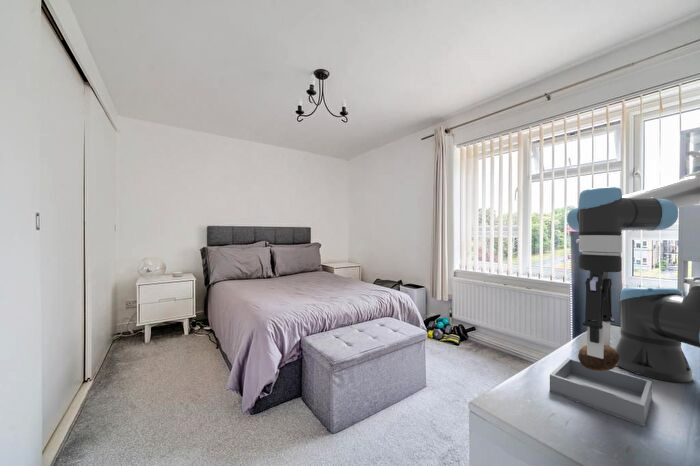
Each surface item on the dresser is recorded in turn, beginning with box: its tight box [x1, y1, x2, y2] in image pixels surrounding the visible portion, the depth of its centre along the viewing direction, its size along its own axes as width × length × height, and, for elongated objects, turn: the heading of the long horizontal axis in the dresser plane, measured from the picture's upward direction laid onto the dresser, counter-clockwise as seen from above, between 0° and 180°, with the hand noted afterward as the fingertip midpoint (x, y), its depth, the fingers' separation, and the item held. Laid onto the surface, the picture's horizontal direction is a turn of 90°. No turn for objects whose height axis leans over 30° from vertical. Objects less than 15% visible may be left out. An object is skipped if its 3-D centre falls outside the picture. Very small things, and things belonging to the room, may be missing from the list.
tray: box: [549, 357, 653, 427], centre depth 64 cm, size 15×15×4 cm
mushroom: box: [577, 344, 619, 372], centre depth 64 cm, size 8×8×6 cm
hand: (598, 352), depth 64 cm, fingers closed on mushroom, 7 cm apart
